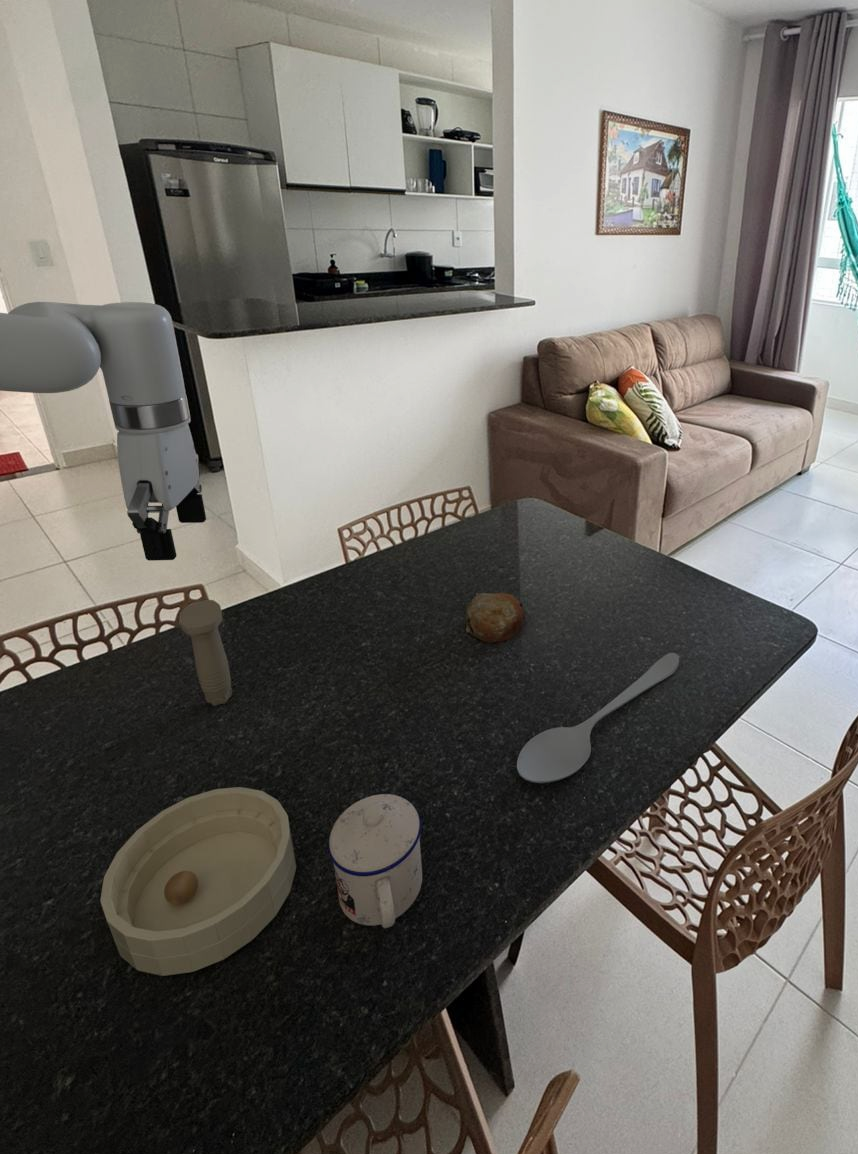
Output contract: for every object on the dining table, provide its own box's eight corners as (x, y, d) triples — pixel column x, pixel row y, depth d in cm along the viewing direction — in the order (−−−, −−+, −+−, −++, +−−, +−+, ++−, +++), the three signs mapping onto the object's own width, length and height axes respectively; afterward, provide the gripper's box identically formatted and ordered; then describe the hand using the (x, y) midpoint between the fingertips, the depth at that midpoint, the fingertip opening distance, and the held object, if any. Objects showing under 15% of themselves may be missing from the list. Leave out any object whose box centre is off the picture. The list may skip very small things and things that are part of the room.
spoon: (543, 808, 82) (544, 793, 81) (499, 772, 86) (500, 757, 85) (693, 678, 107) (696, 665, 106) (654, 655, 112) (656, 642, 111)
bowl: (81, 991, 61) (64, 951, 59) (159, 832, 76) (147, 794, 74) (272, 965, 64) (263, 926, 62) (311, 817, 79) (305, 780, 77)
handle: (200, 719, 92) (179, 631, 86) (200, 690, 97) (179, 605, 91) (239, 708, 94) (221, 622, 88) (237, 680, 99) (219, 596, 93)
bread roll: (464, 634, 118) (446, 607, 113) (508, 596, 122) (492, 568, 117) (495, 664, 111) (477, 636, 106) (540, 622, 115) (524, 594, 110)
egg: (160, 885, 67) (194, 884, 67) (172, 864, 69) (203, 864, 70) (157, 912, 67) (190, 911, 68) (168, 890, 70) (200, 889, 70)
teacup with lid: (333, 865, 74) (321, 790, 69) (416, 837, 77) (410, 765, 73) (343, 973, 64) (330, 895, 59) (438, 936, 68) (433, 859, 63)
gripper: (149, 390, 85) (173, 509, 92) (75, 437, 69) (111, 576, 76) (212, 391, 86) (232, 509, 93) (154, 437, 70) (183, 574, 77)
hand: (178, 539), depth 84 cm, fingers open, 9 cm apart
